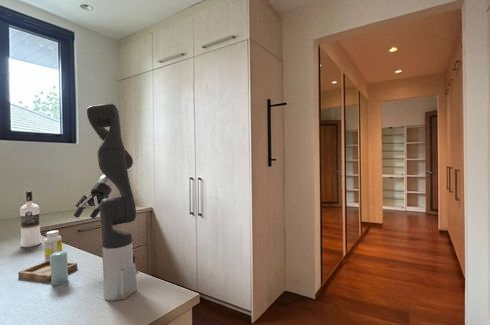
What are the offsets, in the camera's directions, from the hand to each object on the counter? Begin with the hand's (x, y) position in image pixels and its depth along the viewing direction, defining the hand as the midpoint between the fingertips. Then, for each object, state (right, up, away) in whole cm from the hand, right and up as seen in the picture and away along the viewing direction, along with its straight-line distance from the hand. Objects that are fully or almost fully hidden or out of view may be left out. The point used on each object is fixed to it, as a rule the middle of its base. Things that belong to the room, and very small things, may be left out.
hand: (83, 217), depth 108 cm
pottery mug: (+16, -22, -2) cm, 27 cm away
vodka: (-51, -23, +35) cm, 66 cm away
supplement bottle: (-23, -23, +13) cm, 35 cm away
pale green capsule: (-2, -23, -11) cm, 25 cm away
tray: (-13, -23, -3) cm, 26 cm away
